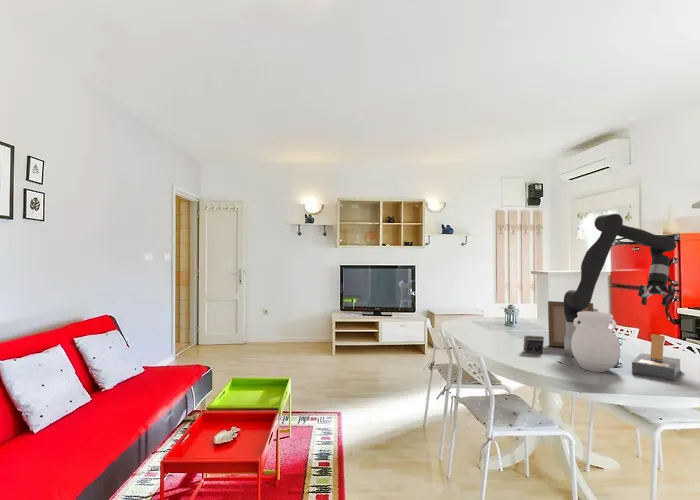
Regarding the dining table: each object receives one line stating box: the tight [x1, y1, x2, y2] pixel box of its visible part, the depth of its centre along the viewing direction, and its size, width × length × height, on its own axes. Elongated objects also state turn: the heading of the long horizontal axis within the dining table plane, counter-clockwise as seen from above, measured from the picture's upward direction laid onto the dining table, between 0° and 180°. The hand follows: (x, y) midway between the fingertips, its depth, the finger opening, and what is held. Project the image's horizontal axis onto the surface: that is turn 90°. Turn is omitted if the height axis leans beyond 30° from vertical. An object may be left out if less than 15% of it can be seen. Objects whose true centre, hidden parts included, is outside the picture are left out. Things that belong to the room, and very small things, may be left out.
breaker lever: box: [650, 333, 666, 361], centre depth 168 cm, size 5×3×11 cm, turn 44°
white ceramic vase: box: [571, 311, 621, 373], centre depth 170 cm, size 19×18×25 cm
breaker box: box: [631, 352, 681, 382], centre depth 167 cm, size 14×22×5 cm, turn 134°
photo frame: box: [547, 300, 594, 348], centre depth 214 cm, size 15×22×25 cm
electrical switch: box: [523, 334, 545, 355], centre depth 198 cm, size 9×5×9 cm, turn 78°
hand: (653, 305), depth 186 cm, fingers open, 8 cm apart
